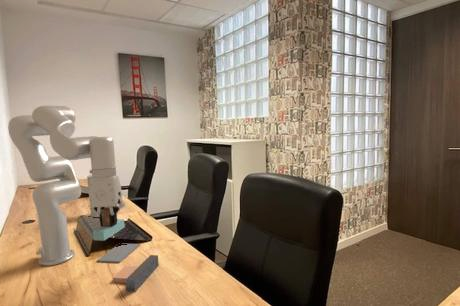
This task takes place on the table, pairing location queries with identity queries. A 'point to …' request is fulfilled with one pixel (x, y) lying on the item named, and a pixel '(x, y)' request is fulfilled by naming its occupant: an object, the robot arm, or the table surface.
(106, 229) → the push block
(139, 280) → the bar
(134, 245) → the mat
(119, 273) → the terracotta tile
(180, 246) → the table surface
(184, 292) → the table surface
